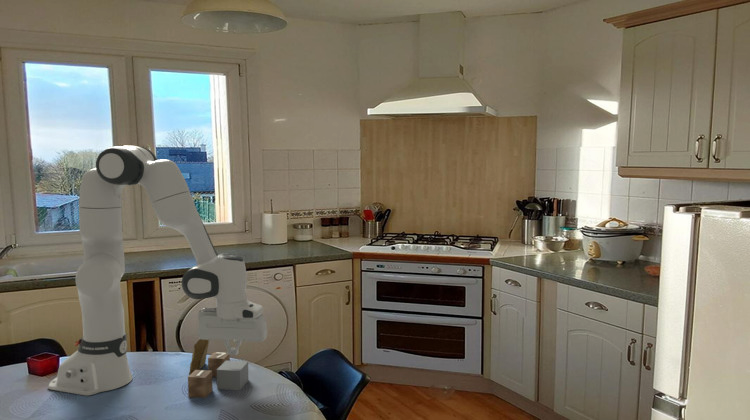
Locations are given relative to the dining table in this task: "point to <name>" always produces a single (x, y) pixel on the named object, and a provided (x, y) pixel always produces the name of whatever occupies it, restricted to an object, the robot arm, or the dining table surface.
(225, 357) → the walnut block seven
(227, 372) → the grey block
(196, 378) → the walnut block one
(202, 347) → the rock
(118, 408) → the dining table surface
